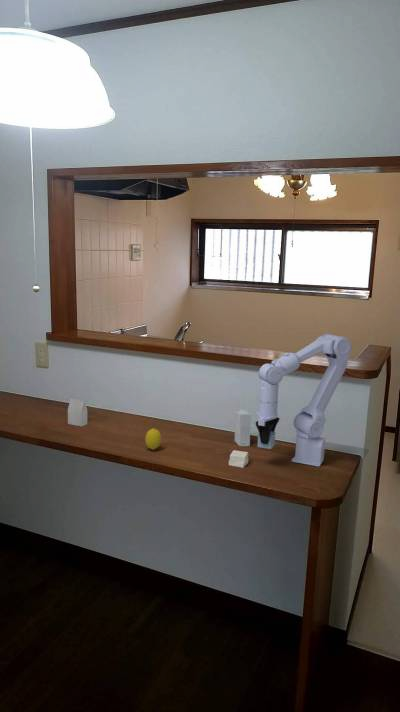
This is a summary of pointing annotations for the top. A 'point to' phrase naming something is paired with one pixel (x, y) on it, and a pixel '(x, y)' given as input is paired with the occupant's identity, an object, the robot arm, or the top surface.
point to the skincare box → (242, 427)
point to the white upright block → (77, 412)
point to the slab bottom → (238, 463)
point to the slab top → (239, 456)
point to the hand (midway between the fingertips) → (266, 441)
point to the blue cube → (270, 442)
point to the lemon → (153, 438)
